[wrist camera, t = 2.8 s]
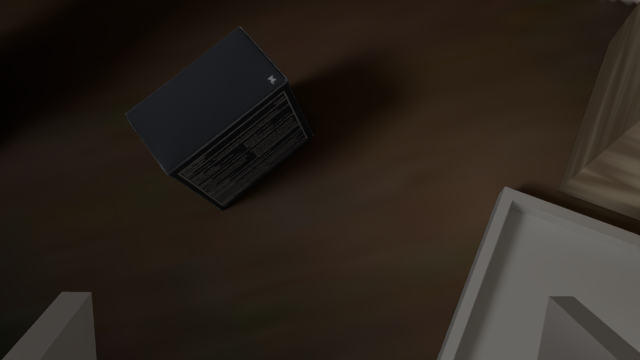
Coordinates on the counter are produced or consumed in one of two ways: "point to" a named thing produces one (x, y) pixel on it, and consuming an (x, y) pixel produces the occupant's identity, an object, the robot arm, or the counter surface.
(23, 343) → the robot arm
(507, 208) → the tray
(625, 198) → the stand
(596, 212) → the counter surface
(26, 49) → the counter surface
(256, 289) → the counter surface
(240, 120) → the small box
